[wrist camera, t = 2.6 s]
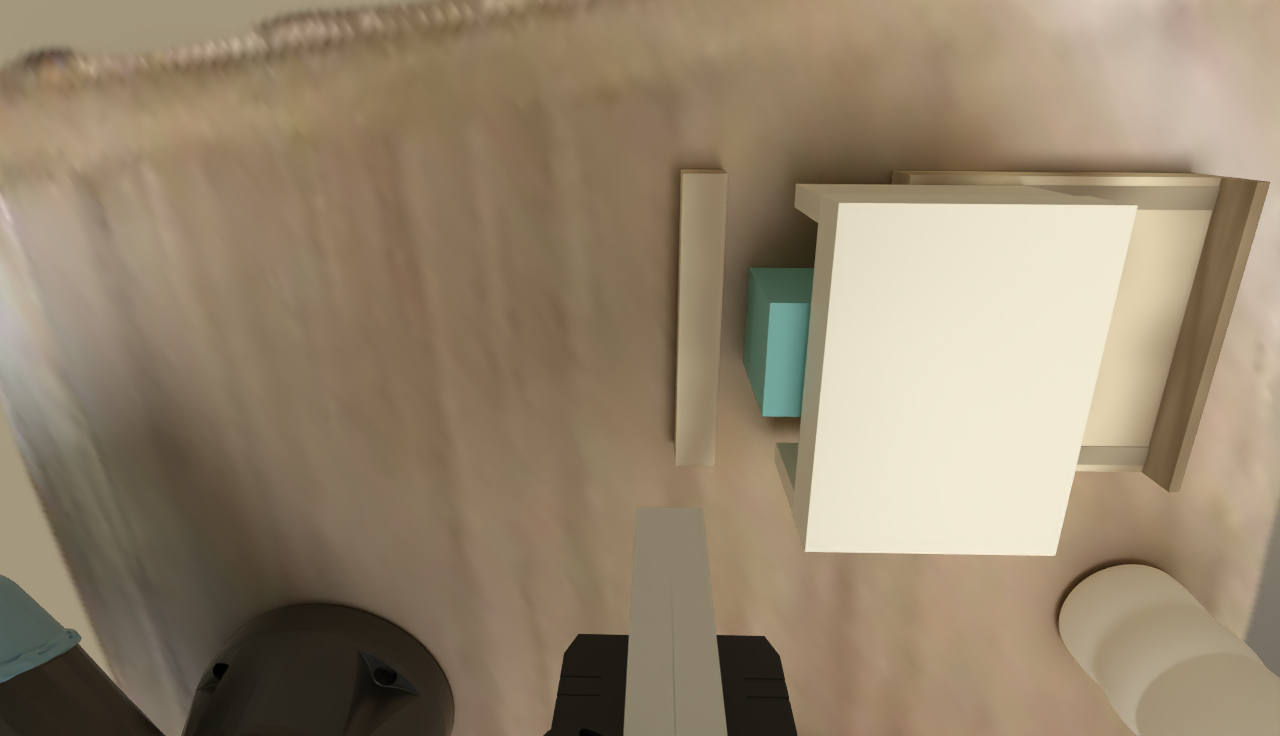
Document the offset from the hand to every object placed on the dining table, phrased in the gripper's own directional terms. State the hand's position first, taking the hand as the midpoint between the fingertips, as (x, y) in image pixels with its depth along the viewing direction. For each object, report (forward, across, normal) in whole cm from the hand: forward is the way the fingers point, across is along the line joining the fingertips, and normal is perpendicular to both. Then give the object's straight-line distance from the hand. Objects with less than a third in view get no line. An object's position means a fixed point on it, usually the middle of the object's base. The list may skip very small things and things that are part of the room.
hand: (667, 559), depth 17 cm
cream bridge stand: (+19, +11, 0) cm, 21 cm away
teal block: (+21, +7, 0) cm, 22 cm away
